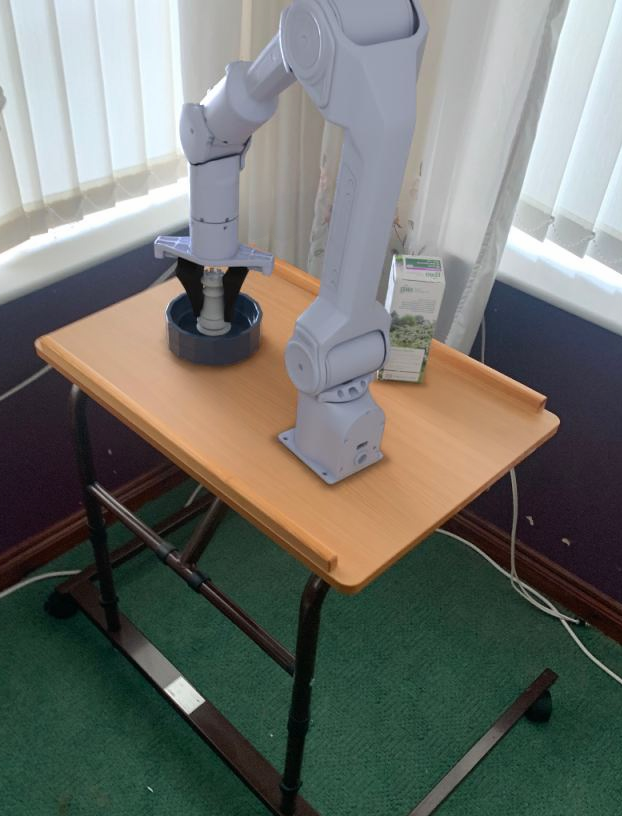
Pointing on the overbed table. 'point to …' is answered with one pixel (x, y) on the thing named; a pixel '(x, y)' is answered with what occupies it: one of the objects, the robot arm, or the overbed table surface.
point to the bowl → (214, 349)
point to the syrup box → (412, 315)
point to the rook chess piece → (213, 305)
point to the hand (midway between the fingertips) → (214, 315)
